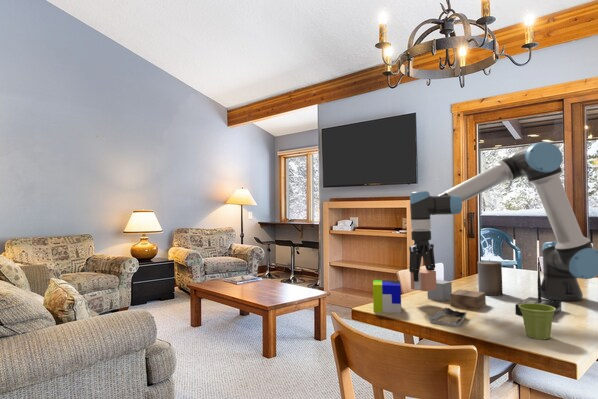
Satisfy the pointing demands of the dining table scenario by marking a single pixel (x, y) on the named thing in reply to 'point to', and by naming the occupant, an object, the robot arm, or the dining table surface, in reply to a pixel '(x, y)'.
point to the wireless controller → (539, 300)
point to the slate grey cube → (441, 291)
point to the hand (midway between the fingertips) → (423, 288)
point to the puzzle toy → (387, 296)
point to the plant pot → (537, 320)
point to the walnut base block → (468, 299)
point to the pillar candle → (490, 277)
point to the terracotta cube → (426, 280)
